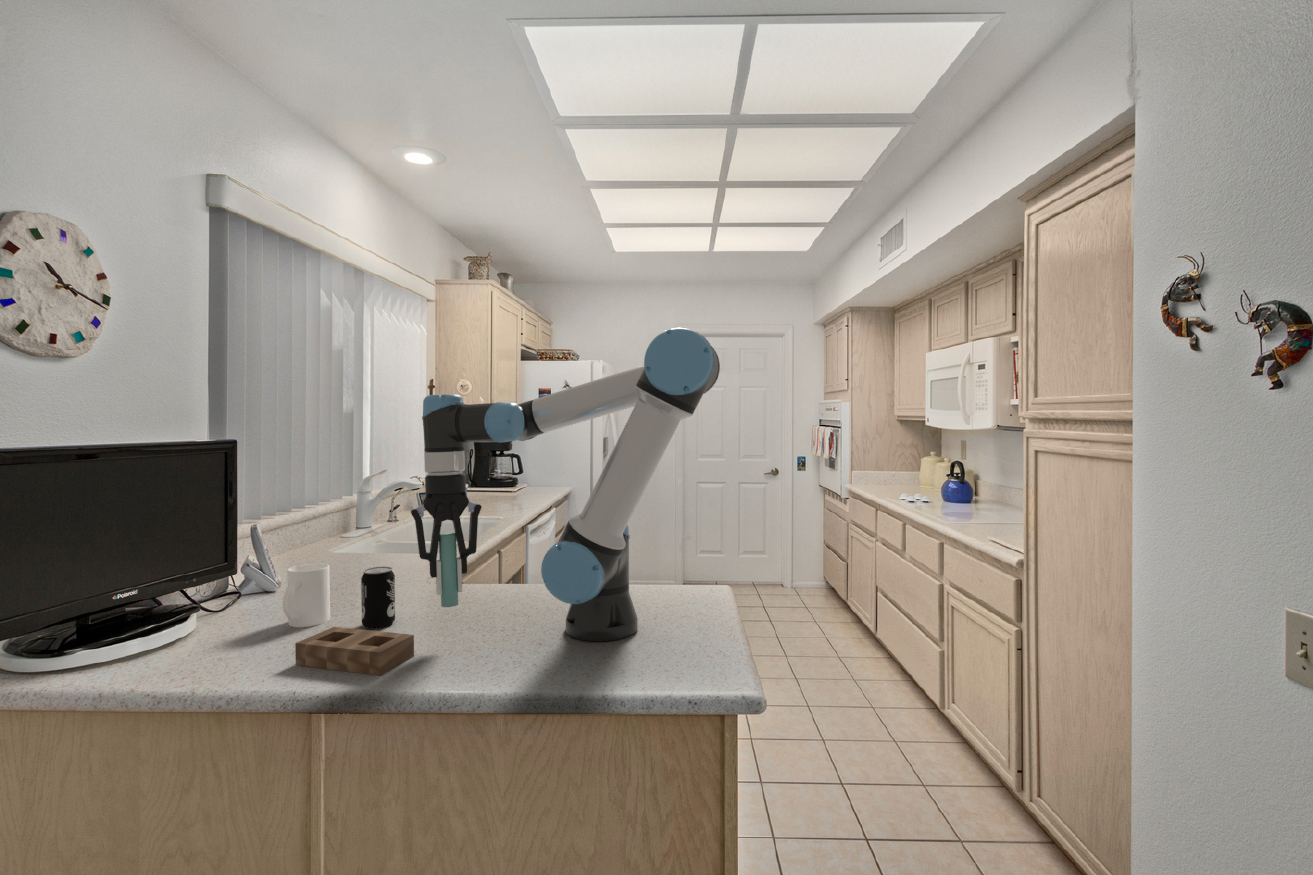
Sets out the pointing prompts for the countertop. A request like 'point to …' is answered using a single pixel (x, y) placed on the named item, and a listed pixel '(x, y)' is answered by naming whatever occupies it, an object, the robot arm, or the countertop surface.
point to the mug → (307, 595)
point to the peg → (448, 569)
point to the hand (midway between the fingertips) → (449, 591)
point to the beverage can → (378, 597)
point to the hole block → (355, 650)
